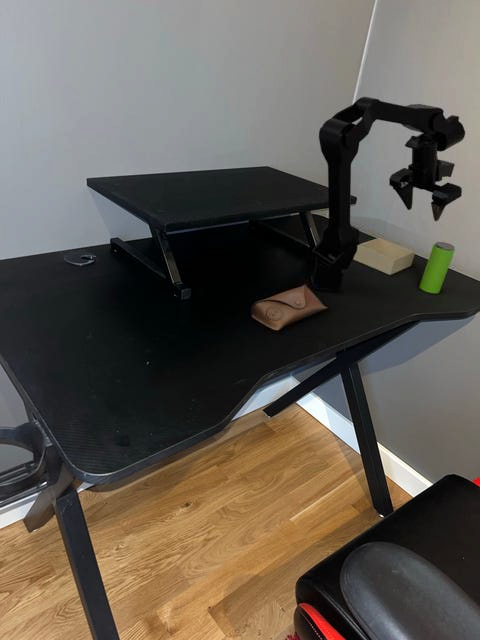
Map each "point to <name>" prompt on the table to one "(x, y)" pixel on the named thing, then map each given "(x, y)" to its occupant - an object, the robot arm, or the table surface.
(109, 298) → the table surface
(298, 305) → the sunglasses case
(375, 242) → the tote
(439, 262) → the drink can
